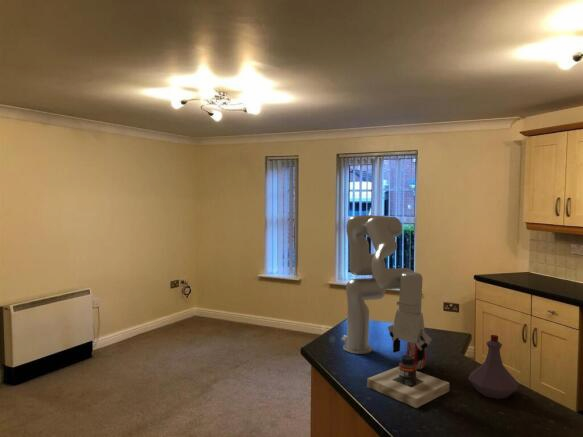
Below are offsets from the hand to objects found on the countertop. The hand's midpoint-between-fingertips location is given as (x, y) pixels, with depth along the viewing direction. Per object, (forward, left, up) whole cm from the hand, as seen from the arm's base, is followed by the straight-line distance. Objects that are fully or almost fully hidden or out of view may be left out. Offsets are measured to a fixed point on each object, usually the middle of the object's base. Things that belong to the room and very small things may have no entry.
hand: (407, 355), depth 150 cm
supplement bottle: (0, 0, -12) cm, 12 cm away
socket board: (+1, 0, -12) cm, 12 cm away
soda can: (-9, +20, -12) cm, 25 cm away
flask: (+21, +21, -12) cm, 31 cm away
